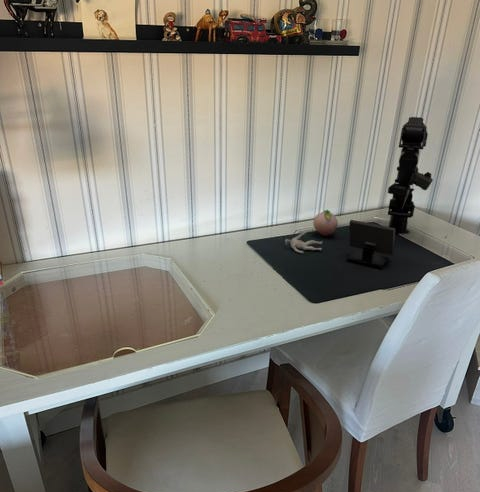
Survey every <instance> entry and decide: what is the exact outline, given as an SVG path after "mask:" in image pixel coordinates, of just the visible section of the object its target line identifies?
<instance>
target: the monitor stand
mask: <svg viewBox="0 0 480 492" xmlns="http://www.w3.org/2000/svg"><path fill="white" fill-rule="evenodd" d="M374 250H375V247H371V246H367V245H365V246H364V247H363V249H362V251H361V250H357V249H356V250H355V251H354V252H352V253H351V254H350V256H348V257H347V259H346V260H347V263H351V264H356V265H359V266H364V267H367V268H373V269H375V270H376V269H377V270H382V269H383V268H385V266H386V264H387V263H388V262H389V259H390V257H389V256H384V255H380V254H376V253H375V252H374Z"/></svg>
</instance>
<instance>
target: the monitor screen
mask: <svg viewBox="0 0 480 492" xmlns="http://www.w3.org/2000/svg"><path fill="white" fill-rule="evenodd" d="M395 235H396V234H395V228H391V227H389V226H385V225H381V224H375V223H370V222H365V221H359V220H354V219H350V221H349V247H352V248H357V249H362V250H363V247H364V246H365V245H367V246H371V247H375V250H374V253H379V254H384V255H388V256H393V255H394V249H395Z"/></svg>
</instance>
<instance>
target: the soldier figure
mask: <svg viewBox="0 0 480 492" xmlns="http://www.w3.org/2000/svg"><path fill="white" fill-rule="evenodd" d="M305 234H307V232H304V231H303V232H302V233H300V234H299V235H297V236H295V237H293V238H292V239H289V238H285V241H284V243H285V246H288V245H289V244H290V247H291V248H292V249H293V251H294V252H296V253H299V254H304V251H319V252H321V251H323V248H322V247H314V246H311V245H323V240H322V241H316V240H314V239H312V240H311V239H310V240H307V241H306V242H305V241H302V240H301V239H300V238H301V237H302V236H303V235H305ZM299 249H300V250H299Z"/></svg>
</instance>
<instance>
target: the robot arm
mask: <svg viewBox="0 0 480 492" xmlns="http://www.w3.org/2000/svg"><path fill="white" fill-rule="evenodd" d="M424 119H425V118H423V117H420V116H419V117H418V116H410V117H408V121H407V122H406V123H404V124H403V125H402V127H401V131H400V136H399V142H398V148H401V149H400V150H401V151H400V155H399V159H398V166H397V167H396V171H397V174H396V178H395V179H394V183H392V184H391V185H389V186H388V188H387V194H390V195H392V198H390V199H389V204H388V209H387V210H388V211H387V216H390V217H389V223H388V227H391V228H395V235H396V234H404V233H409V232H410V230H408V229H407V227H408V221H409V219H410V218H412V217H414V212H415V208H416V205H415V203H414V201H413V197H414V195H413V192H414V191H415V188H412V186H414V185H415V187H419V188H420V189H421V190H423V191H427V190H428V189H429V187H430V185H432V183H433V181H434V180H433V178H432V173H431V172H429V171H426V172H425V173H423V172H422V173H421V172H419V167H418V163H419V156H420V150H424V148H425V147H426V146H427V140H428V136H429V135H428V134H429V133H428V130H427V129H428V127H427V125H425V123H424Z"/></svg>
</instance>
